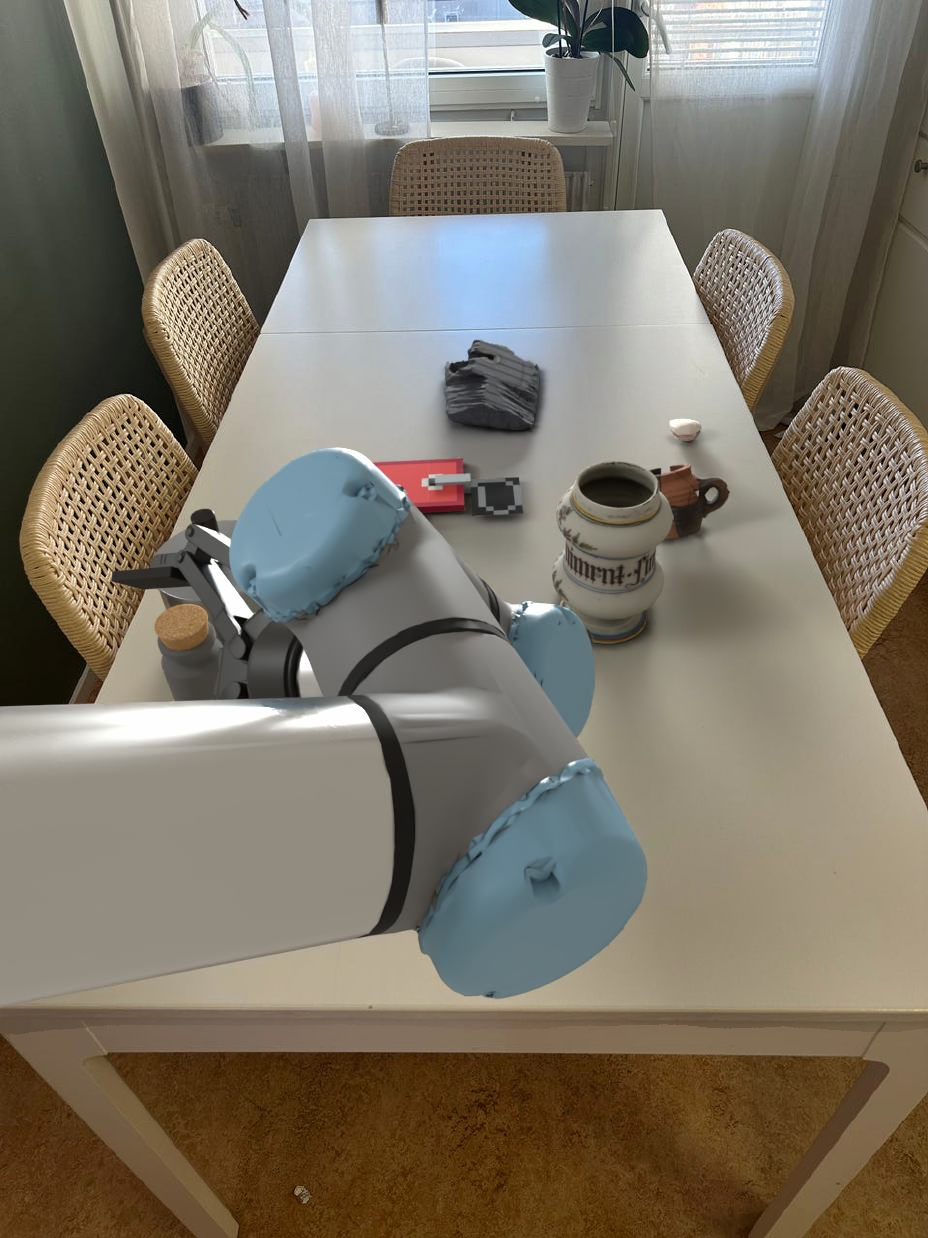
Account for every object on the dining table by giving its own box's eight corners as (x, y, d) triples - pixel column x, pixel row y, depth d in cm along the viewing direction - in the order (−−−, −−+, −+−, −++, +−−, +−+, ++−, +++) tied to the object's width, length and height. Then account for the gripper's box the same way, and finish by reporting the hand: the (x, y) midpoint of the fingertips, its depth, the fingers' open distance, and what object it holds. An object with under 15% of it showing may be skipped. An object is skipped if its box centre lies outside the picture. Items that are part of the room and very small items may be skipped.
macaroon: (684, 447, 123) (687, 432, 121) (658, 433, 126) (661, 418, 124) (705, 437, 125) (708, 422, 123) (679, 423, 128) (682, 408, 126)
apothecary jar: (533, 632, 97) (538, 500, 84) (572, 568, 104) (582, 438, 92) (638, 665, 93) (659, 531, 80) (670, 596, 100) (694, 464, 88)
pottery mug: (638, 547, 108) (626, 482, 106) (637, 533, 116) (625, 472, 114) (738, 528, 105) (727, 461, 103) (729, 514, 114) (719, 452, 112)
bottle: (250, 704, 90) (217, 597, 80) (243, 748, 86) (208, 641, 76) (193, 708, 90) (154, 601, 80) (184, 753, 86) (141, 646, 75)
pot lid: (132, 604, 87) (112, 553, 83) (179, 524, 97) (163, 474, 92) (259, 612, 86) (245, 561, 81) (294, 530, 95) (284, 480, 91)
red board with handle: (524, 528, 110) (516, 464, 121) (524, 509, 108) (516, 446, 119) (288, 538, 110) (303, 474, 121) (284, 520, 108) (299, 456, 120)
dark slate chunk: (431, 433, 128) (430, 404, 124) (447, 362, 144) (446, 335, 140) (536, 435, 126) (537, 406, 123) (540, 364, 142) (541, 336, 139)
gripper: (355, 891, 52) (132, 848, 63) (395, 492, 56) (180, 520, 68) (264, 900, 46) (35, 851, 57) (317, 452, 50) (94, 491, 62)
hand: (113, 672), depth 63 cm, fingers open, 13 cm apart
